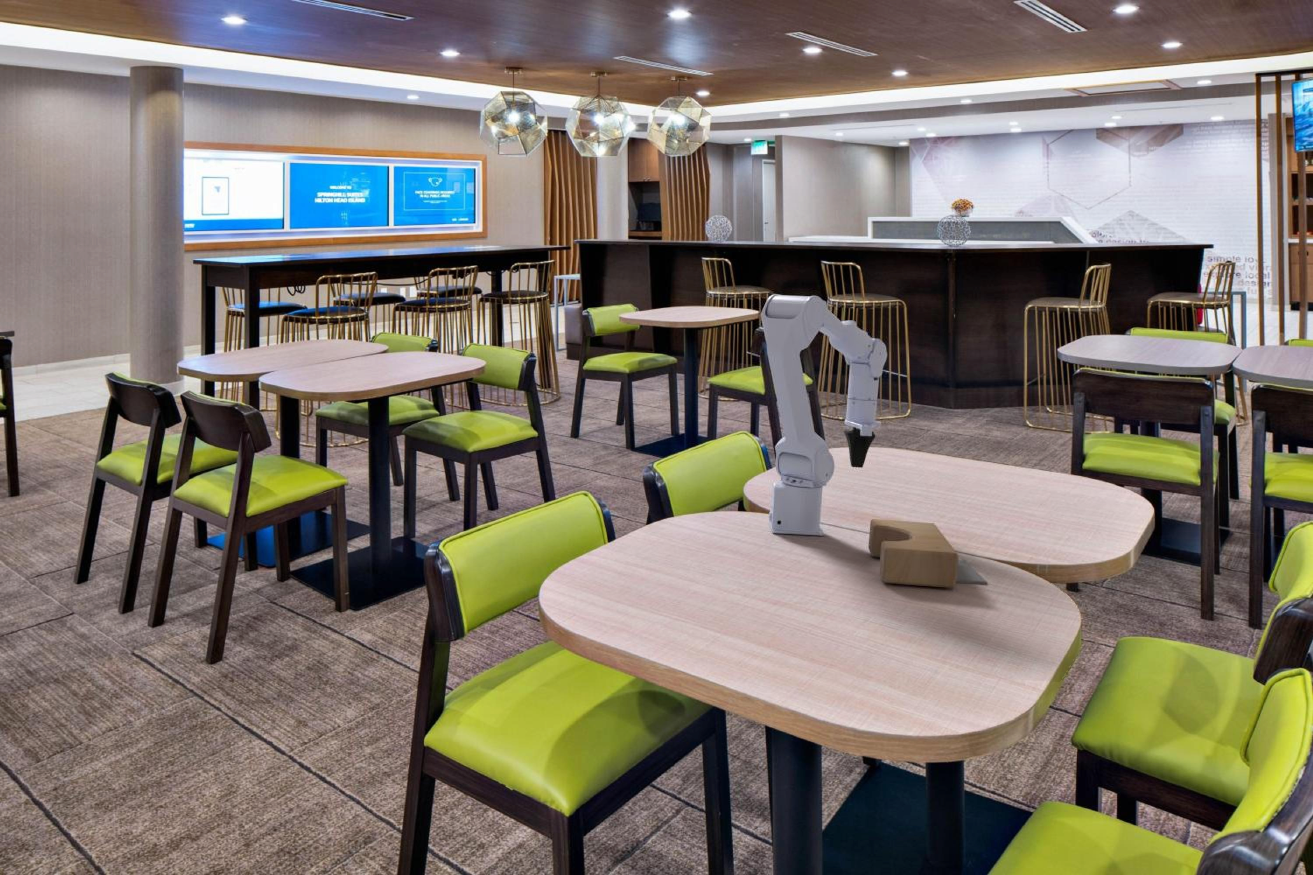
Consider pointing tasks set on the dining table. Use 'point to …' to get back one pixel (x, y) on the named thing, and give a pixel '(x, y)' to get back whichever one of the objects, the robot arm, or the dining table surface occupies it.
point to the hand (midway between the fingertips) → (856, 466)
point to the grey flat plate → (968, 574)
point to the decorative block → (913, 553)
